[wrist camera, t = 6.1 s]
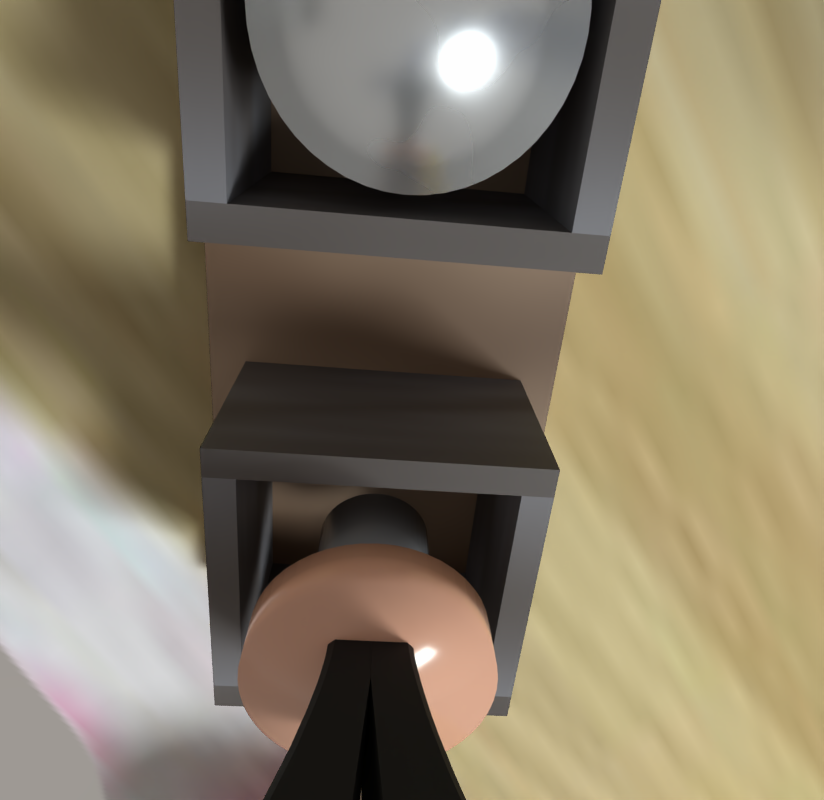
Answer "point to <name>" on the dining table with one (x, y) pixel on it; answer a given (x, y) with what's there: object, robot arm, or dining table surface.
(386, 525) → the terracotta plunger
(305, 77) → the steel plunger
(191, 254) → the dining table surface
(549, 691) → the dining table surface
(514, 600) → the wooden cubby shelf
